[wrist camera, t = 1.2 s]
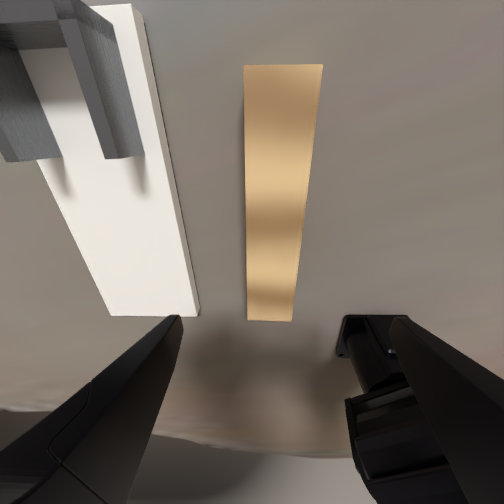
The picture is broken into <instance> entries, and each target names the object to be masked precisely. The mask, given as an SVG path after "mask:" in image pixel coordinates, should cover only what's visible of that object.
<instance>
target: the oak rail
mask: <svg viewBox="0 0 504 504" xmlns="http://www.w3.org/2000/svg"><path fill="white" fill-rule="evenodd" d="M322 68H323V64H306V65H244V127H245V192H246V256H247V320H264V321H291V320H292V312H293V304H294V296H295V287H296V279H297V271H298V263H299V255H300V247H301V239H302V231H303V223H304V214H305V206H306V198H307V190H308V182H309V174H310V166H311V158H312V150H313V141H314V133H315V125H316V117H317V109H318V101H319V93H320V85H321V77H322Z"/></svg>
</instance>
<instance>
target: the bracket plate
mask: <svg viewBox="0 0 504 504" xmlns="http://www.w3.org/2000/svg"><path fill="white" fill-rule="evenodd" d="M0 151H1V153H2V155H3V157H4V159H5V161H6V162H22V161H31V160H37V162H38V164H39V166H40V168H41V170H42V172H43V174H44V176H45V178H46V181H47V183H48V185H49V187H50V189H51V191H52V193H53V195H54V197H55V199H56V201H57V204H58V206H59V208H60V210H61V212H62V214H63V216H64V218H65V220H66V222H67V224H68V226H69V229H70V231H71V233H72V235H73V237H74V239H75V241H76V243H77V245H78V247H79V249H80V252H81V254H82V256H83V258H84V260H85V262H86V264H87V266H88V268H89V270H90V272H91V275H92V277H93V279H94V281H95V283H96V285H97V287H98V289H99V291H100V293H101V295H102V297H103V300H104V302H105V304H106V306H107V308H108V310H109V312H110V314H111V316H169V315H171V314H178V315H180V316H197V315H198V312H199V309H200V305H199V300H198V295H197V290H196V285H195V280H194V275H193V270H192V265H191V260H190V255H189V250H188V245H187V240H186V234H185V229H184V224H183V219H182V214H181V209H180V204H179V199H178V194H177V189H176V184H175V179H174V174H173V169H172V164H171V159H170V153H169V148H168V143H167V138H166V133H165V128H164V123H163V118H162V113H161V108H160V103H159V98H158V93H157V88H156V83H155V77H154V72H153V67H152V62H151V57H150V52H149V47H148V42H147V37H146V32H145V27H144V22H143V17H142V14H141V13H139V12H138V11H137V10H136V9H135V8H134V7H133V6H132V5H131V4H120V5H105V6H90V7H89V6H87V5H86V4H85V3H83V2H82V1H80V0H0Z"/></svg>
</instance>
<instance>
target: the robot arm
mask: <svg viewBox="0 0 504 504" xmlns="http://www.w3.org/2000/svg"><path fill="white" fill-rule="evenodd" d="M182 336H183V324H182V321H181V317H180V315H178V314H171V315H169V316H167V317H166V318H165V319H164V320H163V321H161V322H160V323H159V324H158V325H157V326H155V327H154V328H153V329H152V330H151V331H149V332H148V333H147V334H146V335H145V336H143V337H142V338H141V339H140V340H139V341H138V342H136V343H135V344H134V345H133V346H132V347H130V348H129V349H128V350H127V351H126V352H124V353H123V354H122V355H121V356H120V357H118V358H117V359H116V360H115V361H114V362H113V363H111V364H110V365H109V366H108V367H107V368H105V369H104V370H103V371H102V372H101V373H99V374H98V375H97V376H96V377H95V378H93V379H92V380H91V382H89V383H87V384H86V385H85V386H84V387H83V388H81V389H80V390H79V391H78V392H77V393H75V394H74V395H73V396H72V397H70V398H69V399H68V400H67V401H66V402H64V403H63V404H62V405H61V406H59V407H58V408H57V409H55V410H54V411H53V412H52V413H50V414H49V415H48V416H46V417H45V418H44V419H42V420H41V421H40V422H38V423H37V424H36V425H34V426H33V427H32V428H30V429H29V430H28V431H26V432H25V433H24V434H22V435H21V436H20V437H18V438H17V439H16V440H14V441H13V442H12V443H10V444H9V445H8V446H6V447H5V448H4V449H2V450H1V451H0V504H126V502H127V499H128V496H129V494H130V491H131V488H132V485H133V482H134V480H135V477H136V474H137V471H138V468H139V466H140V463H141V460H142V457H143V455H144V452H145V449H146V446H147V443H148V441H149V438H150V435H151V432H152V430H153V427H154V424H155V421H156V419H157V416H158V413H159V410H160V407H161V405H162V402H163V399H164V396H165V393H166V391H167V388H168V385H169V382H170V380H171V377H172V374H173V371H174V368H175V364H176V360H177V356H178V352H179V348H180V344H181V340H182ZM336 354H337V356H338V357H339V358H350V359H351V362H352V364H353V367H354V369H355V372H356V374H357V377H358V380H359V382H360V385H361V387H362V390H363V392H364V394H362V395H359V396H356V397H354V398H347V399H345V400H344V401H345V407H346V417H347V423H348V430H349V436H350V443H351V449H352V455H353V460H354V463H355V466H356V469H357V471H358V473H359V474H360V475H361V477H362V480H363V482H364V484H365V485H366V487H367V489H368V491H369V493H370V494H371V496H372V497H373V498H374V499H375V500H376V502H377V504H504V380H503V379H502V378H500V377H498V376H497V375H495V374H494V373H492V372H491V371H489V370H488V369H486V368H484V367H483V366H481V365H480V364H478V363H477V362H475V361H474V360H472V359H471V358H469V357H467V356H466V355H464V354H463V353H461V352H460V351H458V350H457V349H455V348H454V347H452V346H450V345H449V344H447V343H446V342H444V341H443V340H441V339H440V338H438V337H436V336H435V335H433V334H432V333H430V332H429V331H427V330H426V329H424V328H423V327H421V326H419V325H418V324H416V323H415V322H413V321H412V320H411V319H410V318H409V317H408V316H407V315H347V316H345V318H344V322H343V326H342V330H341V334H340V338H339V342H338V346H337V350H336Z"/></svg>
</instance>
